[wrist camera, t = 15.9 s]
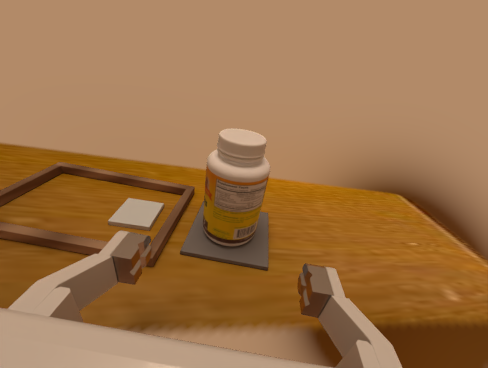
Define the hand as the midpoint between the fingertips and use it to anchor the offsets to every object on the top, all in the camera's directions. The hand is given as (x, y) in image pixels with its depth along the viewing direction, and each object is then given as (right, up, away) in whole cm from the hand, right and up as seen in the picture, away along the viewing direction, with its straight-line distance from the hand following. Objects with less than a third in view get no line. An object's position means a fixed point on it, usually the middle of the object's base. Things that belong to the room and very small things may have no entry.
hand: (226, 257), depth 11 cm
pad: (0, -1, +12) cm, 12 cm away
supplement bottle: (-1, -1, +12) cm, 12 cm away
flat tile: (-10, 0, +12) cm, 16 cm away
